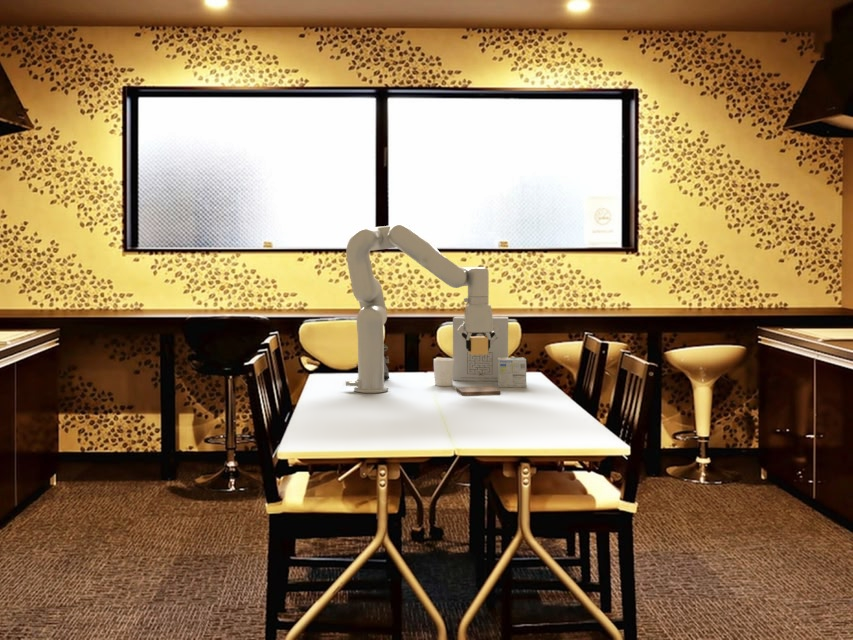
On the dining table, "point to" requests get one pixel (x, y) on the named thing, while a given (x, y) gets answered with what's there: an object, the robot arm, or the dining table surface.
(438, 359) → the white cup
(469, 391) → the walnut board
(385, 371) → the figurine
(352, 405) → the dining table surface
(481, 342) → the ochre cube
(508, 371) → the light bulb box
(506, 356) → the cereal box
